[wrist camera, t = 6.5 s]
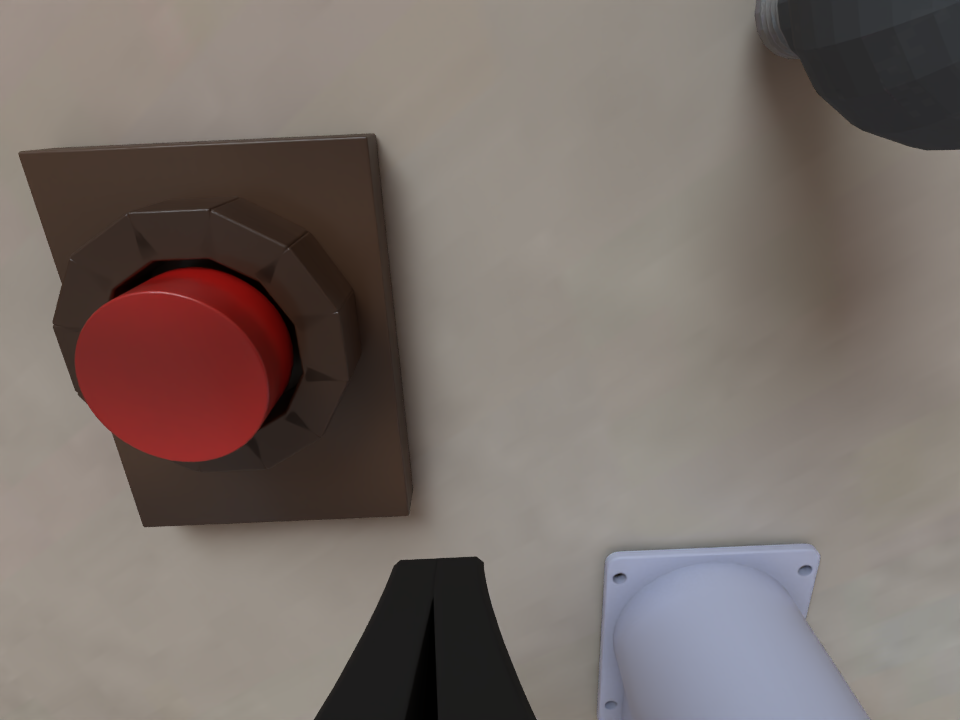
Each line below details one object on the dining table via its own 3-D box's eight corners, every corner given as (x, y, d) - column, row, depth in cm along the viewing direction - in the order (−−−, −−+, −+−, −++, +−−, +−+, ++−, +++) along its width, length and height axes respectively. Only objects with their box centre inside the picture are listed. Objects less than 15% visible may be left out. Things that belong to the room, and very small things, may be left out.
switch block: (413, 489, 21) (402, 558, 18) (164, 500, 21) (109, 571, 18) (376, 133, 16) (352, 140, 13) (54, 147, 16) (-48, 158, 13)
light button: (306, 416, 16) (283, 459, 14) (149, 423, 16) (105, 467, 14) (278, 262, 15) (248, 286, 13) (102, 270, 15) (45, 295, 13)
